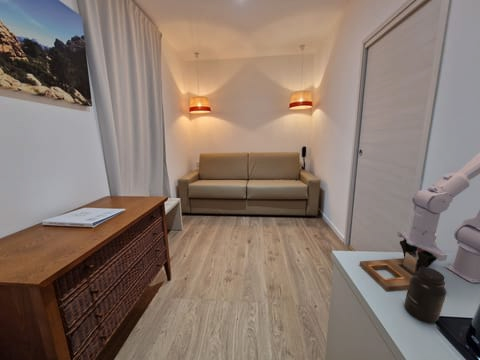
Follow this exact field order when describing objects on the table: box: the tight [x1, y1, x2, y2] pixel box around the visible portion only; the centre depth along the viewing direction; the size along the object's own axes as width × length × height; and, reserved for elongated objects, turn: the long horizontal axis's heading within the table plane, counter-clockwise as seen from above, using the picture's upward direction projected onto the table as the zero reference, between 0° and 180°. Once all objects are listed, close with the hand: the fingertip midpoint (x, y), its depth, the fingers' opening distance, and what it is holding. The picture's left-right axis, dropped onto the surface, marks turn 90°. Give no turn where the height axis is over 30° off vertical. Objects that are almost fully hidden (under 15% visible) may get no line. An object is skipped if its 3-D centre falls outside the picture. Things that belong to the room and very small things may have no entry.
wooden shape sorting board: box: [359, 257, 446, 292], centre depth 68 cm, size 19×12×2 cm, turn 97°
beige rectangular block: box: [403, 251, 418, 276], centre depth 68 cm, size 4×4×7 cm
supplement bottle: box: [403, 267, 447, 324], centre depth 53 cm, size 7×7×12 cm
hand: (414, 267), depth 68 cm, fingers open, 4 cm apart
